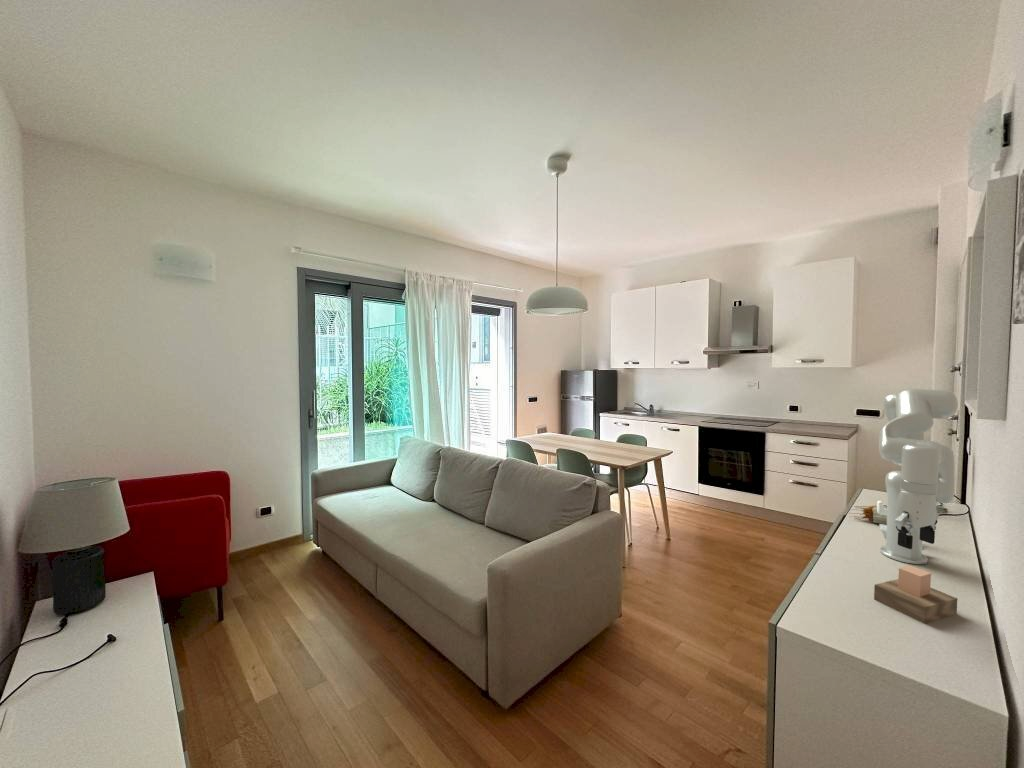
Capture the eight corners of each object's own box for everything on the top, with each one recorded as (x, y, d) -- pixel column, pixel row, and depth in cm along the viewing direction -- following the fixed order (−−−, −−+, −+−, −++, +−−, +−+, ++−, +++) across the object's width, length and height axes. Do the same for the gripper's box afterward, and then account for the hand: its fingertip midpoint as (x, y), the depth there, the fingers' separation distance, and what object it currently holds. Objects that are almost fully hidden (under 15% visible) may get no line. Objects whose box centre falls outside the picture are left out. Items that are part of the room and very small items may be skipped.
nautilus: (850, 524, 180) (842, 514, 193) (916, 530, 170) (903, 520, 183) (849, 506, 180) (842, 498, 193) (914, 511, 170) (902, 502, 183)
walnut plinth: (905, 592, 126) (905, 577, 126) (956, 615, 115) (957, 598, 115) (873, 600, 122) (874, 584, 122) (924, 625, 111) (925, 607, 111)
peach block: (908, 584, 122) (909, 565, 122) (930, 593, 117) (931, 573, 117) (898, 587, 120) (898, 568, 120) (919, 597, 116) (920, 576, 115)
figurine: (909, 543, 159) (910, 506, 158) (876, 537, 165) (878, 501, 164) (906, 537, 165) (907, 501, 164) (875, 531, 171) (876, 496, 170)
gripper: (921, 480, 123) (919, 534, 124) (883, 486, 118) (880, 543, 119) (954, 487, 116) (951, 545, 117) (915, 494, 111) (912, 555, 112)
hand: (915, 544), depth 118 cm, fingers open, 9 cm apart
